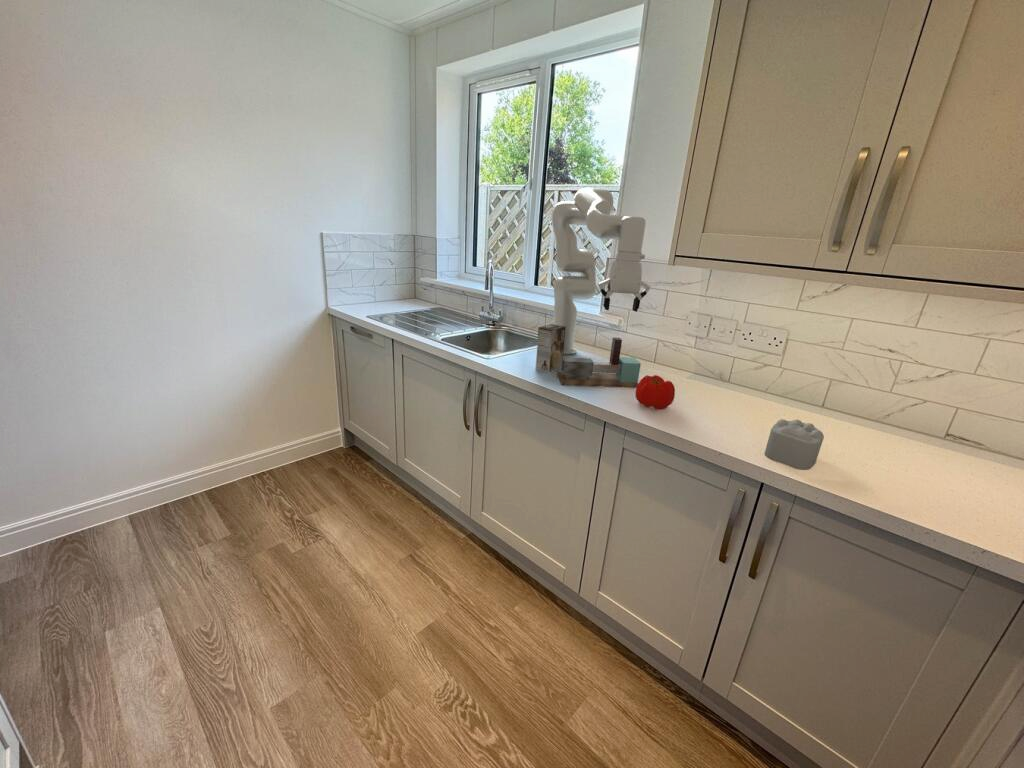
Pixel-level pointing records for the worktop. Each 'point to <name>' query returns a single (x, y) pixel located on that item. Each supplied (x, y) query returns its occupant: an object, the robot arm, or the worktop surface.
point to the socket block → (629, 370)
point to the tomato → (655, 392)
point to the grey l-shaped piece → (614, 360)
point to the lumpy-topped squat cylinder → (794, 444)
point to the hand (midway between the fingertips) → (620, 310)
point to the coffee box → (550, 347)
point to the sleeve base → (596, 381)
